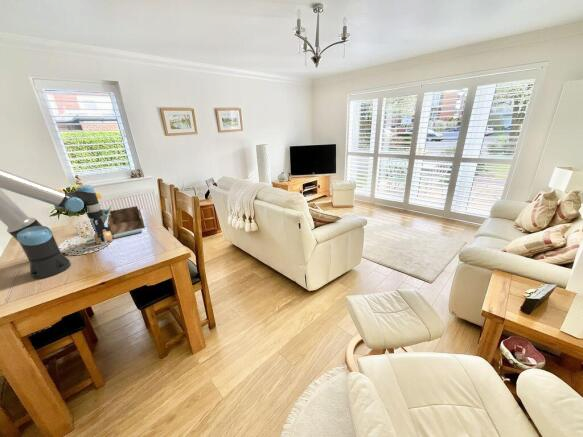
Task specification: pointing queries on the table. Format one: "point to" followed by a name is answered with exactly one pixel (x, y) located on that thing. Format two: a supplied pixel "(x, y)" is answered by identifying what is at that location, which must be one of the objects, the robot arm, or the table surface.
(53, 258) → the robot arm
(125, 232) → the panel
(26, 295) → the table surface
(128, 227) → the brown open rectangular box
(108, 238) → the peach pillar candle
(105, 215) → the planter
